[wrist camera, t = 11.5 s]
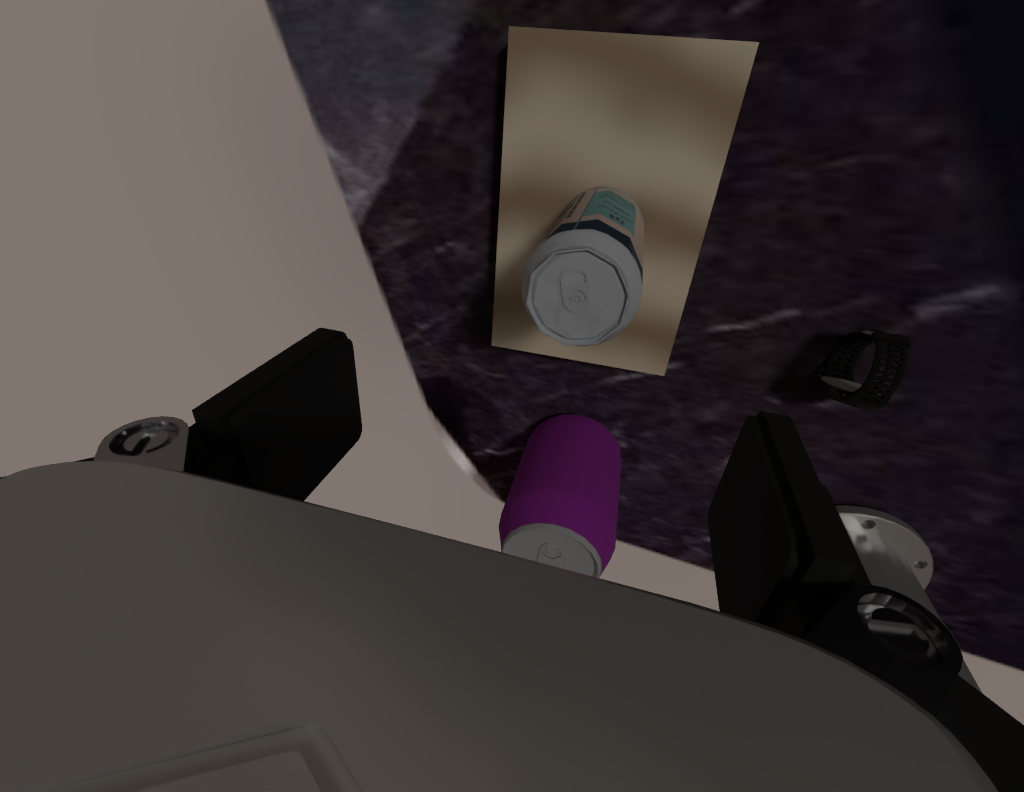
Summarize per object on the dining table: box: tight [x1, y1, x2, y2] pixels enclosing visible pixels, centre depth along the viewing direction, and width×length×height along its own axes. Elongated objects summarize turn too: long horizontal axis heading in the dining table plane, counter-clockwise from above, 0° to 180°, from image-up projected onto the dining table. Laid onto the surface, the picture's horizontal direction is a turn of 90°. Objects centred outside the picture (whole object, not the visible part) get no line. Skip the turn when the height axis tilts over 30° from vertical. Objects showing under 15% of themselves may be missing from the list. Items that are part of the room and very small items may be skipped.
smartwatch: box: [815, 330, 911, 410], centre depth 28 cm, size 4×5×5 cm
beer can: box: [521, 186, 644, 346], centre depth 23 cm, size 5×5×12 cm
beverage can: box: [499, 414, 621, 578], centre depth 34 cm, size 8×8×12 cm
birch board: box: [492, 26, 759, 376], centre depth 29 cm, size 18×12×2 cm, turn 178°
